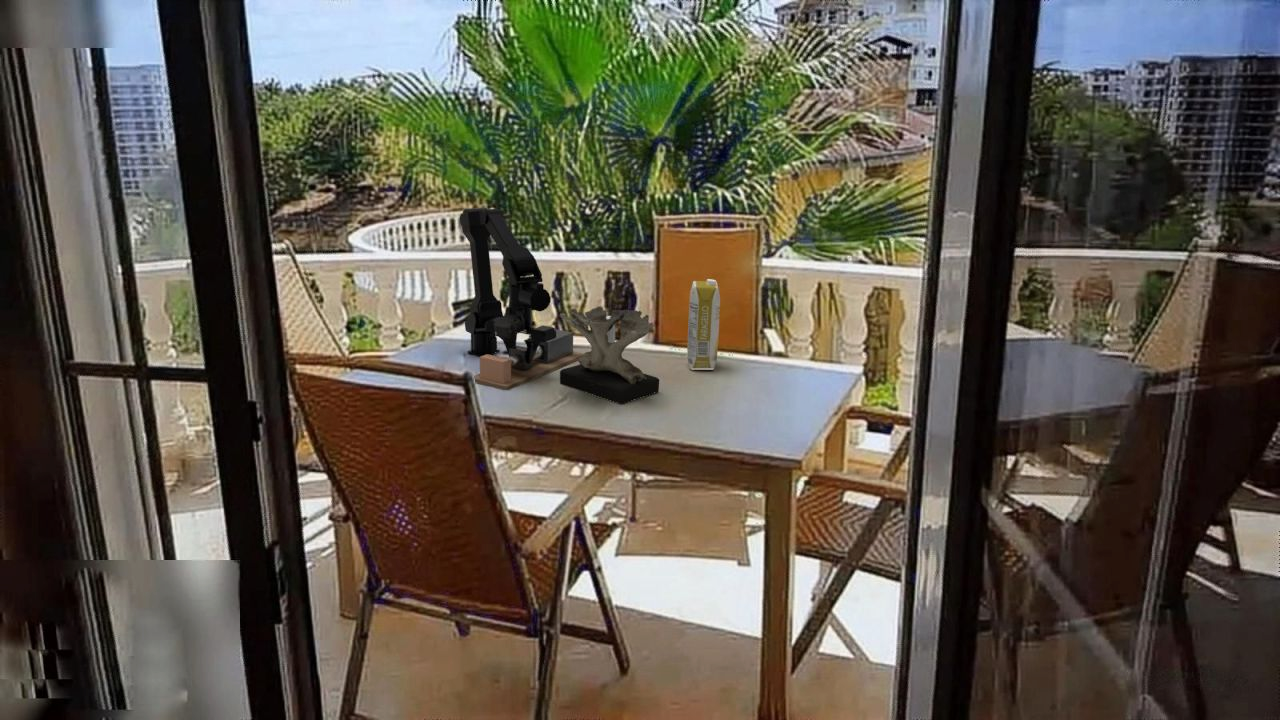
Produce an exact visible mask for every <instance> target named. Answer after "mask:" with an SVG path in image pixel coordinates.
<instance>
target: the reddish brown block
mask: <svg viewBox="0 0 1280 720" xmlns="http://www.w3.org/2000/svg"><path fill="white" fill-rule="evenodd" d="M479 374H480V378H483V379H487V380H491V381H496V382H500V383H506V382H508V381H510V380H511V359H508V358H507V357H503V356H497V355H494V354H492V355H489V354H486V355H484V356H479Z"/></svg>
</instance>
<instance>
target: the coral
mask: <svg viewBox="0 0 1280 720" xmlns="http://www.w3.org/2000/svg"><path fill="white" fill-rule="evenodd" d="M607 312H608V311H607V310H605V309H604V307H603V306H602V305H600V306H599V305H597V306H596V307H595V308H591V310H589V311H586V312H584V313H583V311H582V310H579V311H578V310H577V309H576V308H570V309H568V313H569V315H570V316H567V314H566V313H564V312H562V313H560V314H559V316H560V318H561V320H564V322H566V323H567V324H568V325H570V326H571V327H572V328H573V329H575V330H576V331H578V332H579V333H581V334H582V336H583V337H584V338H585V339H586V341H587V342H588V343H589V345H590V346H591V350H590V351H586V352H584V355H583V356H581V357H580V358H579V359H578V360H577V361H576V362H578V363H579V364H577V365H576V364H575V365H573V366H570V367H566V368H563V369H560V371H559V384H560V385H563V386H565V387H566V386H567V388H572V389H574V390H577V391H580V392H584V393H586V392H587V393H586V394H589V393H590V394H589V395H592V394H593V395H592V396H595V395H596V396H595V397H598V396H599V397H598V398H601V397H602V398H601V399H604V398H605V399H604V400H607V399H608V400H607V401H610V400H611V401H610V402H613V401H614V402H613V403H615V402H618V403H620V404H619V405H623V404H625V403H626V402H627V403H628V401H630V402H632V401H631V400H633V401H635V400H634V399H636V400H639V399H641V398H640V397H642V398H644V397H643V396H645V397H647V396H646V395H648V396H650V395H649V394H651V395H653V394H652V393H654V392H658V391H659V389H660V378H658V377H656V376H654V375H651V374H647V373H644V372H643V371H642V370H641V369H640V368H639V367H637V366H635V365H634V364H632V362H630V360H627V359H625V358H623V356H622V355H623V354H622V353H624V351H625V349H626V348H627V347H628V346H629V345H631V344H634V343H635V342H636V341H639V340H640V339H643V338H645V336H647V335H648V334H649V332H650V331H652V330H653V329H654V327H655V325H654V323H653V321H652V322H650V321H649V319H650V318H649V317H650V316H649V315H648V314H645V316H643V317H642V316H641V315H642V314H643V312H642V311H641V310H636V309H635V310H633V309H632V310H627V309H624V310H620V309H618V310H615V309H613V310H612V311H611V313H610V316H611V317H610V319H606V318H607V317H606V316H608V315H607V314H608V313H607ZM620 319H621V321H620V325H619V327H620V329H619V335H620V338H619V340H615V342H613V343H611V342H608V335H607V332H608V331H610V330H611V328H613V326H614V325H615V326H616V324H617V322H618V321H619V320H620ZM589 328H590V329H589ZM659 392H660V391H659ZM659 392H658V393H659ZM654 394H655V393H654ZM638 398H639V399H638ZM618 403H617V404H618ZM622 403H623V404H622Z"/></svg>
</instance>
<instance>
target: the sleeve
mask: <svg viewBox="0 0 1280 720" xmlns="http://www.w3.org/2000/svg"><path fill="white" fill-rule="evenodd" d="M554 329H555V330H556V338H555V339H552V340H549V341H547V342H541V343H540V345H544V356H541V357H538V358H536V359H533V360H532V361H535V362H539V363H544V364H549V363H552V362H554V361H557V360H559V359H562V358H564V357H566V356H569V355H571V354H573V351H574V332H572V331H568V330H567V331H566V330H561V329H556V328H554ZM527 339H529V337H528V338H527Z"/></svg>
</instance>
